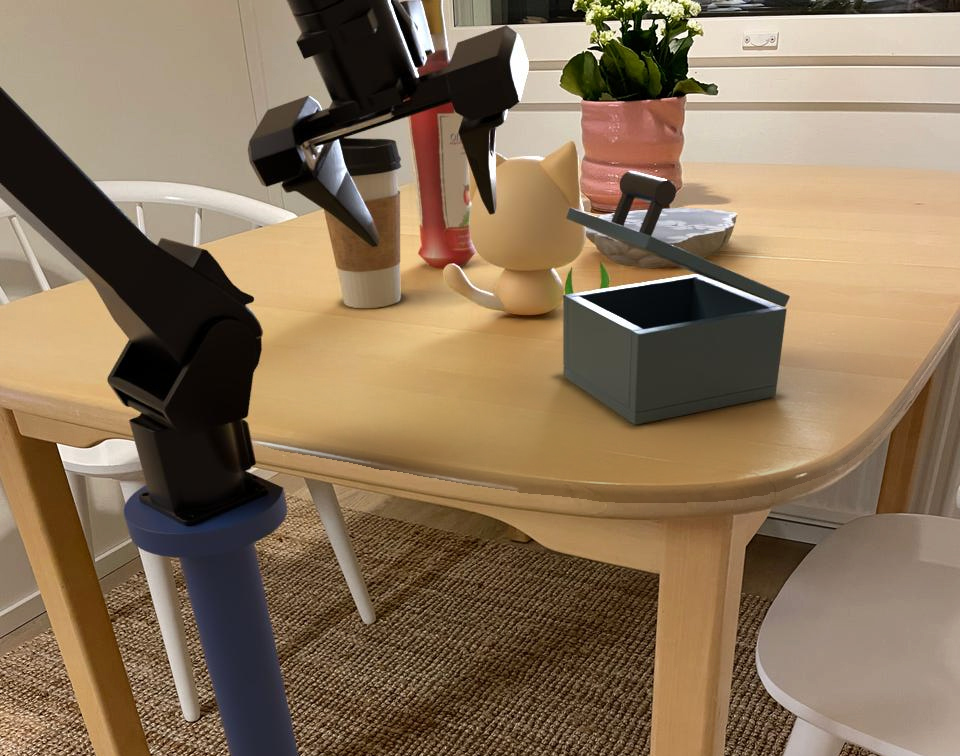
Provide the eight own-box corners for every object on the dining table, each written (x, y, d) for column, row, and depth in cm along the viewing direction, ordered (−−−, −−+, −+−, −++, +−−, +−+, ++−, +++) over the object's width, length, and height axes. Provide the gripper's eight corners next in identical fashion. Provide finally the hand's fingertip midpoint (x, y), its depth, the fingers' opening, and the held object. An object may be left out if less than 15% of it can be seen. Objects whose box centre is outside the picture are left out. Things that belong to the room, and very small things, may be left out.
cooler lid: (645, 248, 61) (674, 176, 59) (565, 218, 70) (589, 155, 68) (785, 307, 67) (816, 243, 65) (695, 272, 76) (719, 216, 74)
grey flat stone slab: (625, 229, 121) (625, 204, 120) (754, 238, 113) (757, 211, 112) (549, 264, 108) (549, 236, 106) (690, 277, 100) (692, 247, 98)
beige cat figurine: (624, 304, 93) (630, 131, 84) (588, 333, 85) (590, 147, 77) (486, 293, 99) (479, 131, 90) (441, 320, 91) (429, 146, 83)
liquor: (437, 254, 115) (417, -29, 99) (490, 257, 112) (478, -33, 96) (405, 268, 110) (378, -28, 94) (460, 272, 107) (442, -32, 91)
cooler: (634, 425, 67) (638, 334, 64) (562, 376, 76) (562, 294, 73) (775, 397, 70) (787, 308, 67) (690, 353, 80) (696, 273, 76)
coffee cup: (336, 292, 102) (316, 135, 94) (415, 288, 102) (401, 130, 94) (327, 314, 95) (303, 147, 87) (411, 309, 95) (396, 141, 87)
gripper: (497, -114, 58) (568, 136, 70) (243, -9, 65) (345, 203, 76) (470, -46, 52) (553, 217, 63) (190, 63, 58) (311, 283, 70)
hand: (433, 228), depth 68 cm, fingers open, 9 cm apart
